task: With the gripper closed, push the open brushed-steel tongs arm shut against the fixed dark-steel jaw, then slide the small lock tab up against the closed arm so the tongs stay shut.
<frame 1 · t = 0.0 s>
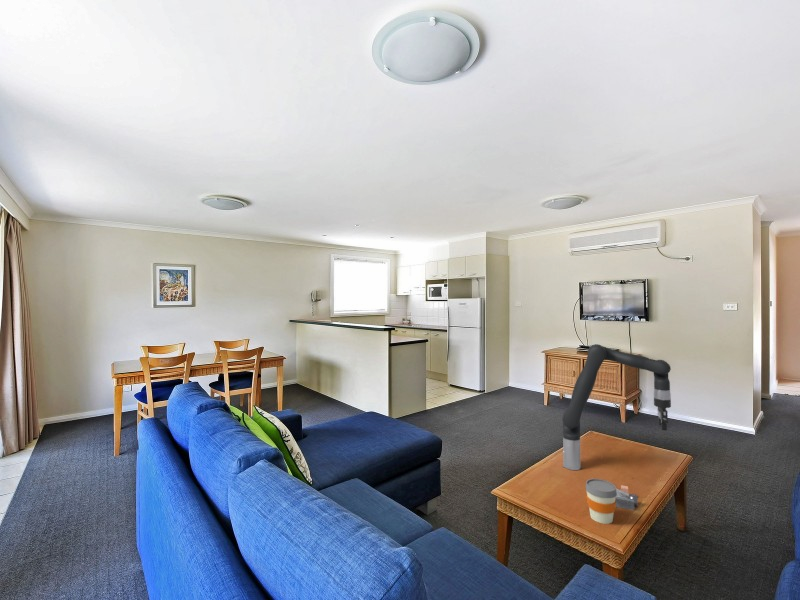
hand: (662, 427, 204), 29 cm above the table, fingers open, 8 cm apart
lock tab: (624, 492, 189), point 3 cm above the table, slide at 0.0 cm
tongs jaw: (615, 505, 182), on the table
tongs arm: (619, 494, 188), point 2 cm above the table, hinge at 35.0°
reusable coffee cup: (601, 518, 172), on the table
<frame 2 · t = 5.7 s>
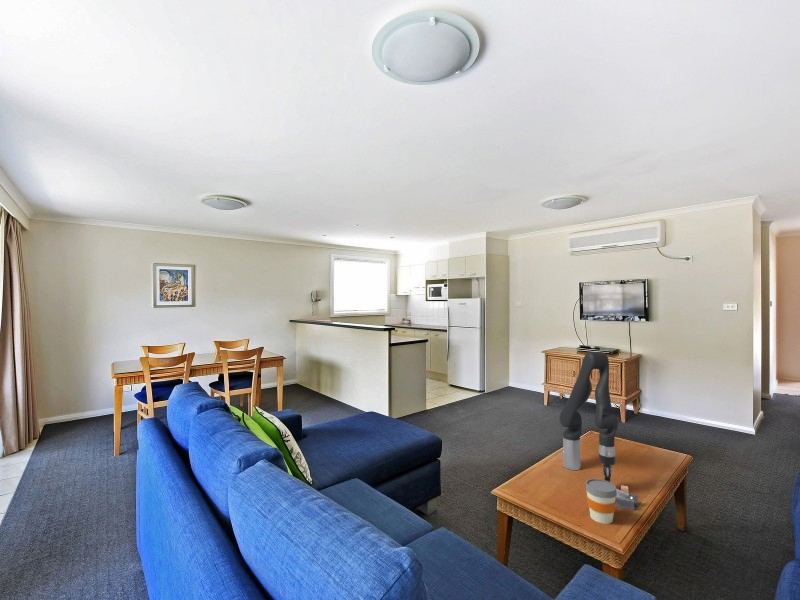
hand: (607, 486, 196), 2 cm above the table, fingers closed
tongs arm: (619, 494, 187), point 2 cm above the table, hinge at 34.2°, touching gripper
everything else where it was.
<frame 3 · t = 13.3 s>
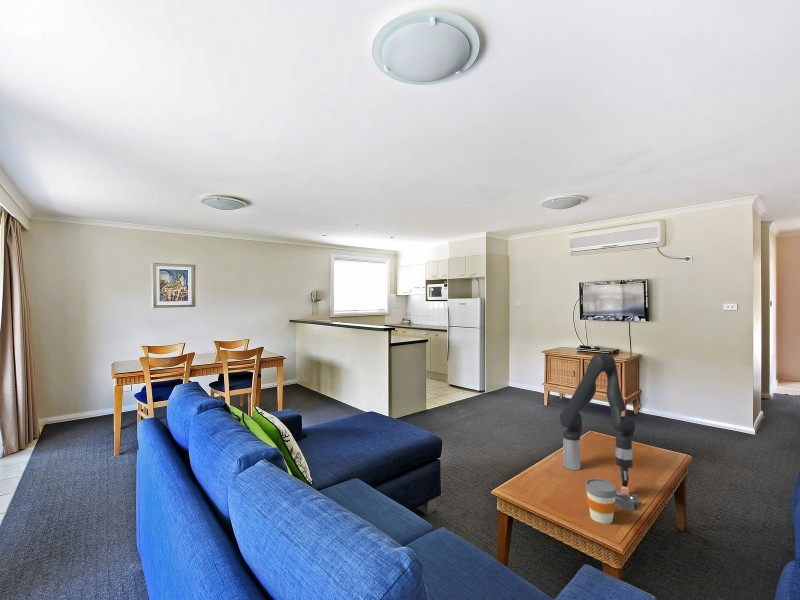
hand: (624, 490, 192), 2 cm above the table, fingers closed
lock tab: (624, 492, 189), point 3 cm above the table, slide at 0.8 cm, touching gripper
tongs arm: (617, 496, 185), point 2 cm above the table, hinge at 5.4°
everything else where it was.
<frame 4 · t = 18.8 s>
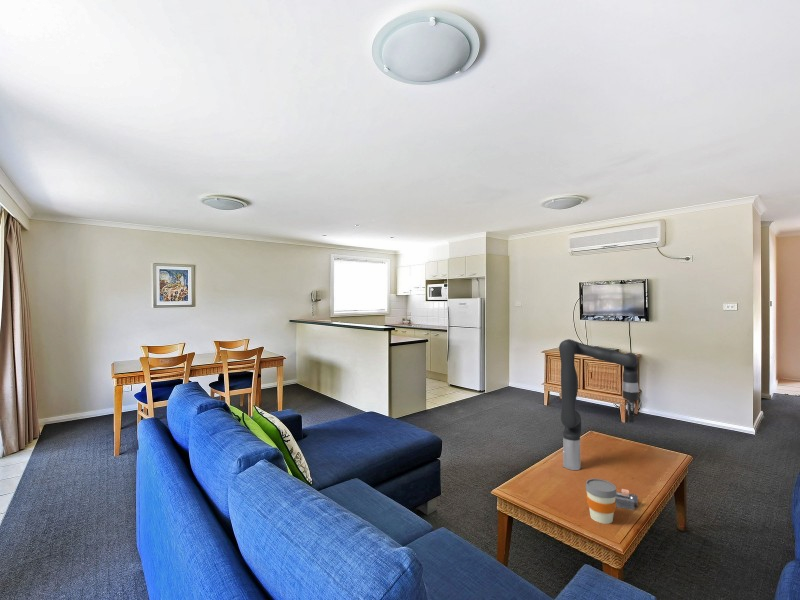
hand: (631, 421, 206), 32 cm above the table, fingers closed
lock tab: (625, 495, 186), point 3 cm above the table, slide at 4.1 cm, touching tongs arm
tongs arm: (617, 496, 185), point 2 cm above the table, hinge at 5.4°, touching lock tab
everything else where it was.
at the end: tongs arm at +5° (first picture: +35°); lock tab slide at 4.1 cm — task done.
